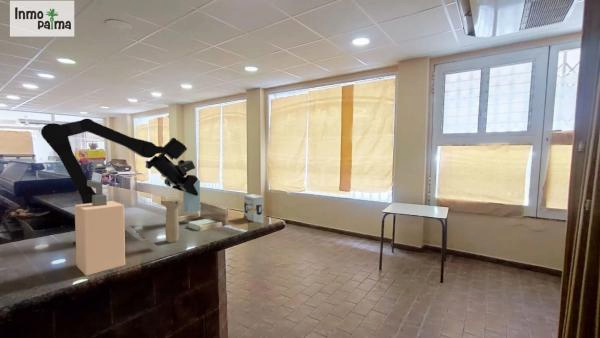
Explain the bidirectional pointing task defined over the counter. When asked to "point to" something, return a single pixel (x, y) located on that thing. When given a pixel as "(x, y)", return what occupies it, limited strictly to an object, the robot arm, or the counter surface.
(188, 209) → the light blue block
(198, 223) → the pale green block
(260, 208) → the ink box
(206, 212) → the rack
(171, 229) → the handle
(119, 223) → the soap dispenser
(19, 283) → the counter surface
